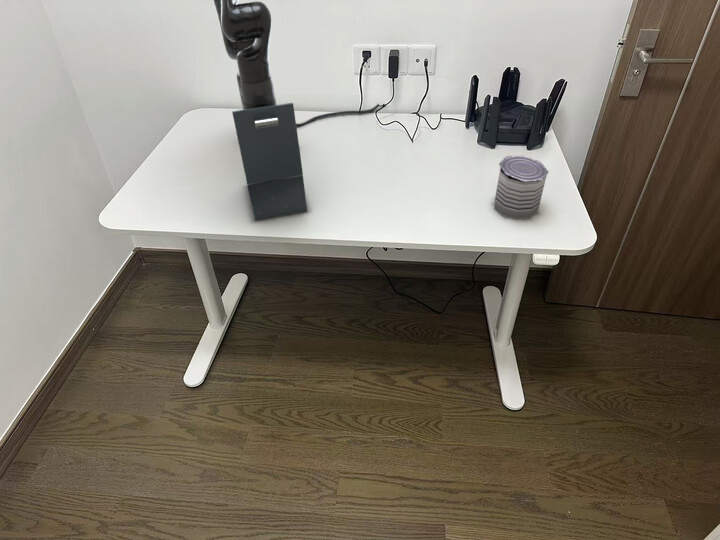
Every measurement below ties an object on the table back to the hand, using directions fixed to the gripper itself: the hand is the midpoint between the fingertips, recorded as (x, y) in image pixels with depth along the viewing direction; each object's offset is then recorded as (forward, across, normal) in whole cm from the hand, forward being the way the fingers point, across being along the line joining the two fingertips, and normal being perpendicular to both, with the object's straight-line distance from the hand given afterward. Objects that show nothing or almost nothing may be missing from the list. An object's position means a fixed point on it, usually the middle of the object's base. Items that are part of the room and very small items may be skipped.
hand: (269, 160), depth 134 cm
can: (+11, -53, -35) cm, 64 cm away
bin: (+11, -1, 0) cm, 11 cm away
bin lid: (-9, -6, +4) cm, 12 cm away
